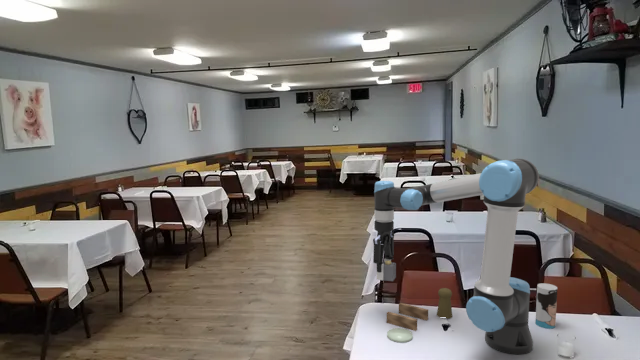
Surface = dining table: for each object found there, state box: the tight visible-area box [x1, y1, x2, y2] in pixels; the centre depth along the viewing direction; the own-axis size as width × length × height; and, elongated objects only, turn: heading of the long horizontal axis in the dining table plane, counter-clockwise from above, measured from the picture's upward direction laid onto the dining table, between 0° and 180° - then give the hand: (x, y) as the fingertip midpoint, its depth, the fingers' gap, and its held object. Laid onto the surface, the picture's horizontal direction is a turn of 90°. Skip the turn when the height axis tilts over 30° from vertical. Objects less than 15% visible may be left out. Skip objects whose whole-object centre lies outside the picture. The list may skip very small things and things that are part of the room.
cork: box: [436, 287, 453, 320], centre depth 169 cm, size 6×6×11 cm
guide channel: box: [386, 302, 429, 332], centre depth 165 cm, size 12×12×4 cm
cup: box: [534, 283, 558, 330], centre depth 160 cm, size 7×7×15 cm
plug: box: [382, 260, 397, 282], centre depth 168 cm, size 5×5×7 cm
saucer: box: [386, 327, 414, 344], centre depth 153 cm, size 9×9×1 cm
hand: (383, 277), depth 170 cm, fingers closed on plug, 5 cm apart
